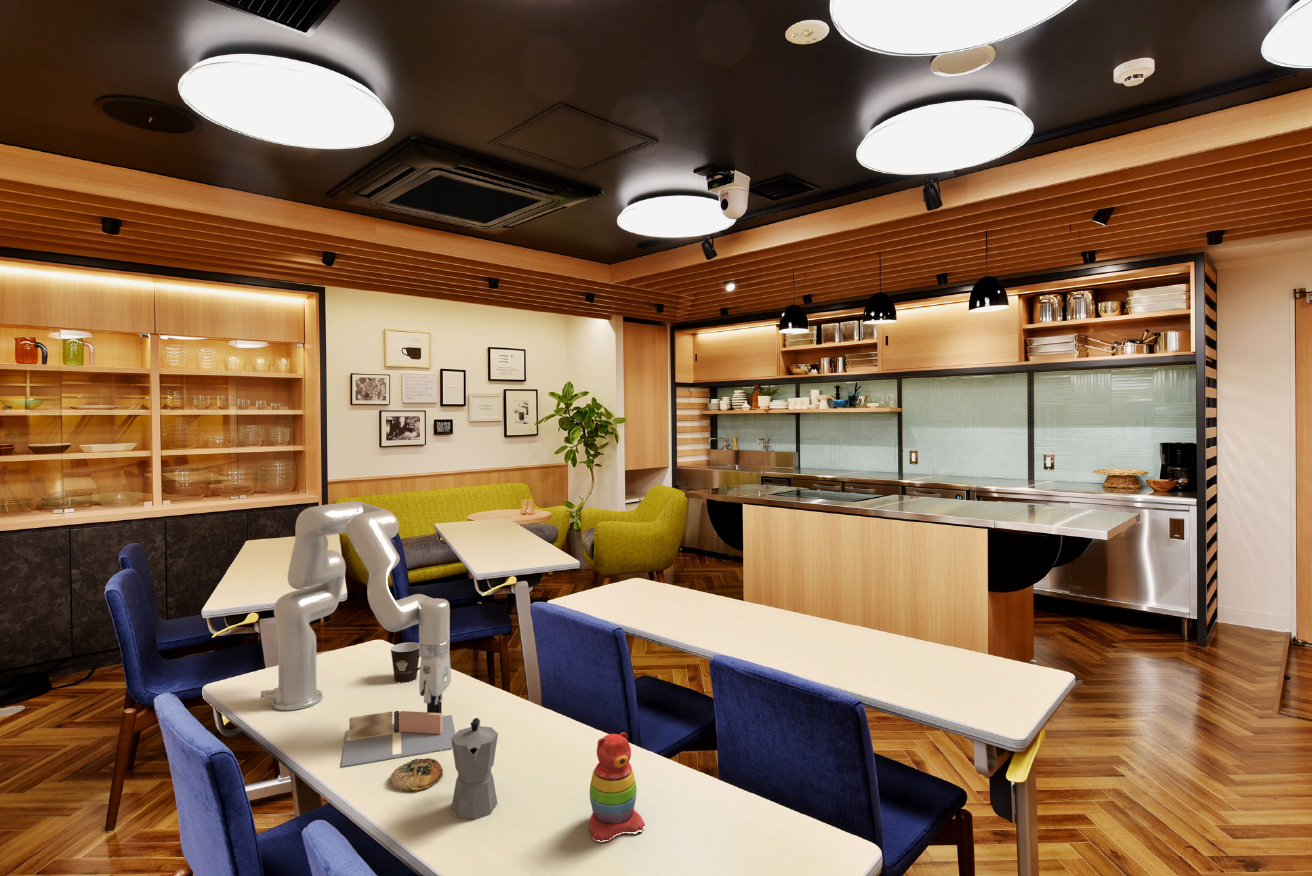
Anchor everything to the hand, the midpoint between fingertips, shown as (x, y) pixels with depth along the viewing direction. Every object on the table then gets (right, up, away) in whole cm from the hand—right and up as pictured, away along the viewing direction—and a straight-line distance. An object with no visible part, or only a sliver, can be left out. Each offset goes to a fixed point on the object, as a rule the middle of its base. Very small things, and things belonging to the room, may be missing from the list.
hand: (434, 717), depth 172 cm
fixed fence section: (-15, -3, -4) cm, 16 cm away
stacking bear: (+49, -5, -39) cm, 63 cm away
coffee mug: (-19, -3, +33) cm, 38 cm away
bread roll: (+4, -4, -24) cm, 24 cm away
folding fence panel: (-3, -3, -2) cm, 4 cm away
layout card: (-7, -3, -5) cm, 9 cm away
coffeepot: (+20, -4, -33) cm, 39 cm away
